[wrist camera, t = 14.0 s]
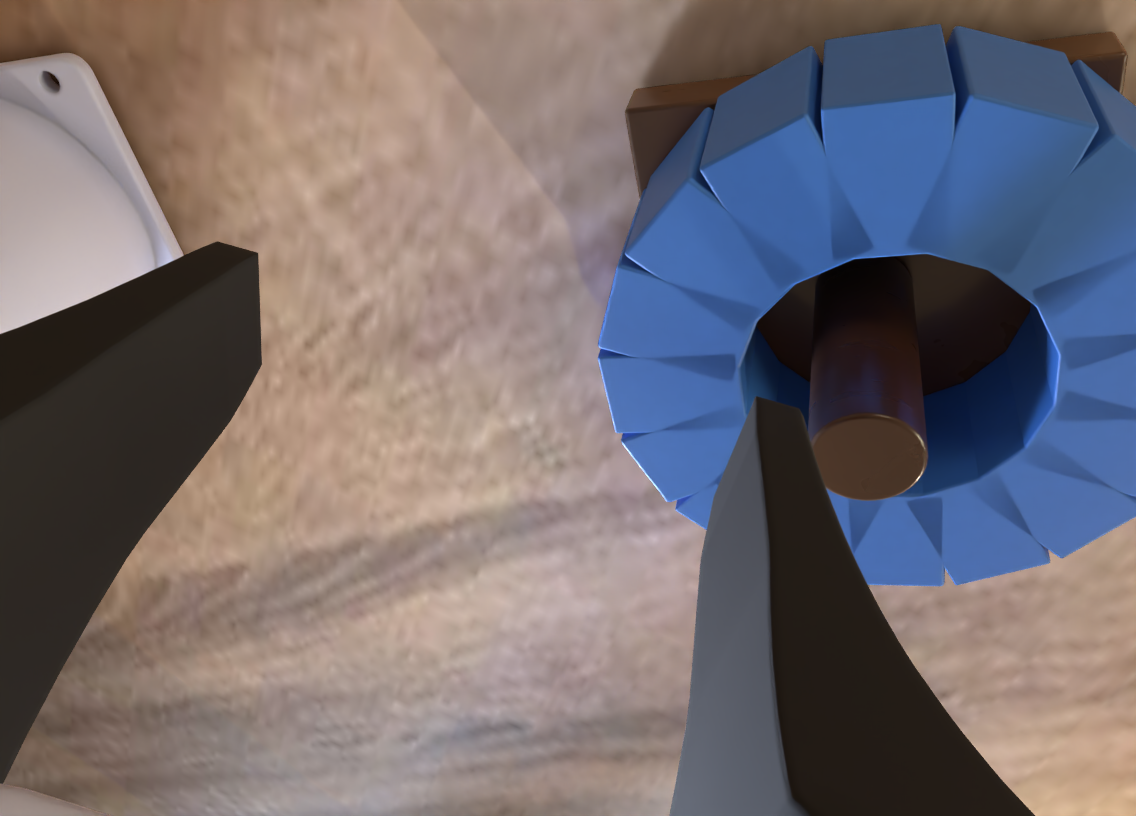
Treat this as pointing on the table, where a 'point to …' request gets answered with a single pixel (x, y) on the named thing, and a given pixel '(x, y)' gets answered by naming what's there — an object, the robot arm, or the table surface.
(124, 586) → the table surface
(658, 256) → the tape
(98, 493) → the robot arm
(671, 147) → the stand
